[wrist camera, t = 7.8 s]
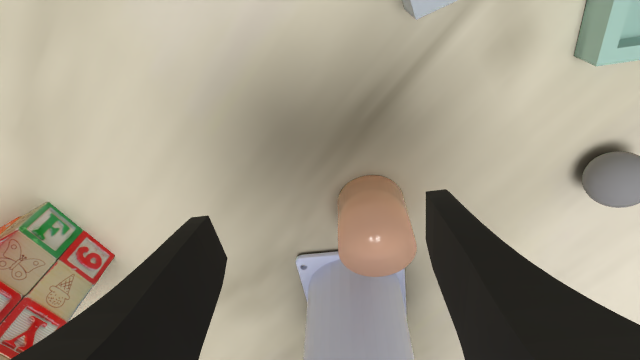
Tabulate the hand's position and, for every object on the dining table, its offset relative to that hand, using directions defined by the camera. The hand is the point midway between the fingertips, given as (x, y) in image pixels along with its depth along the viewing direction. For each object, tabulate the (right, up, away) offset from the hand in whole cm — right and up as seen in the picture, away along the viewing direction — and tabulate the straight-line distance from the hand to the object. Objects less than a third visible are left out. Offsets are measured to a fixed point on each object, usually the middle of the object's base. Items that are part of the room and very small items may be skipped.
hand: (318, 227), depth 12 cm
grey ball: (+17, +2, +8) cm, 19 cm away
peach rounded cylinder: (+3, 0, +12) cm, 12 cm away
